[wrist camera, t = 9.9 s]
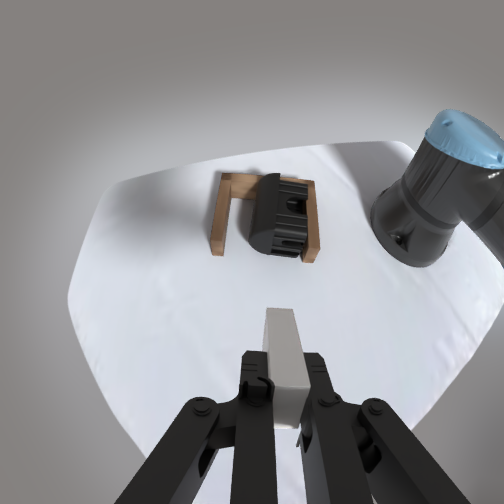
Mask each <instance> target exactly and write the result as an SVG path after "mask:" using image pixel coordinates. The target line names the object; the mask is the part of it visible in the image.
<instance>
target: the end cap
mask: <svg viewBox="0 0 504 504" xmlns="http://www.w3.org/2000/svg"><path fill="white" fill-rule="evenodd" d="M303 200H308V184H304V183H298V182H291V181H284V180H280V173H271V174H268V175H265V176H264V177H262V178H261V179H260V180H259V182H258V184H257V190H256V196H255V203H254V209H253V215H252V222H251V228H250V234H249V243H250V245H251V247H252V248H254V249H255V250H256V251H258V252H260V253H263V254H267V255H276V256H283V257H291V258H297V257H298V255H299V253H301V251H302V248H303V245H301V242H303V243H305V240H306V238H307V233H308V215H302V203H303Z"/></svg>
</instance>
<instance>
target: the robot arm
mask: <svg viewBox="0 0 504 504" xmlns="http://www.w3.org/2000/svg"><path fill="white" fill-rule="evenodd" d="M461 221H464V223H465V224H467V225H468V227H469V228H470V229H471V230H472V231H473V232H474V233H475V234H476V235H477V236H478V237H479V238H480V240H481V241H482V242H483V243H484V244H485V245H486V246H487V247H488V249H489V250H490V251H491V252H492V253H493V255H494V256H495V257H496V258H497V259H498V261H499V262H500V263H501V265H502V267H503V268H504V141H503V140H502V139H501V138H500V136H499V135H498V134H497V133H496V132H495V131H493V129H491V128H490V127H489V126H487V125H486V124H485V123H483V122H481V121H480V120H478V119H477V118H475V117H473V116H471V115H469V114H466V113H464V112H461V111H458V110H453V109H446V110H443V111H441V112H440V113H438V114H437V116H436V117H435V119H434V121H433V123H432V124H431V126H430V128H428V129H427V130H426V132H425V137H424V139H423V141H422V143H421V145H420V147H419V149H418V150H417V152H416V154H415V156H414V157H413V159H412V161H411V163H410V164H409V166H408V168H407V169H406V171H405V173H404V175H403V176H402V178H401V179H399V180H398V181H397V182H395V183H394V184H393V185H392V186H391V187H390V188H387V189H386V190H384V191H383V192H382V193H381V194H380V195H379V196H378V198H377V200H376V201H375V203H374V205H373V207H372V210H371V223H372V227H373V230H374V232H375V234H376V236H377V238H378V240H379V241H380V243H381V244H382V246H383V247H384V248H385V249H386V250H387V251H388V252H389V253H390V254H391V255H392V256H393V257H394V258H396V259H397V260H399V261H400V262H402V263H404V264H406V265H409V266H413V267H427V266H429V265H431V264H433V263H434V262H435V261H436V260H438V259H439V258H440V257H441V256H442V254H443V253H444V251H445V249H446V247H447V244H448V241H449V239H450V237H451V235H452V233H453V231H454V229H455V227H456V226H457V225H458V224H459V223H460V222H461ZM262 351H263V352H262ZM262 351H246V352H245V353H244V355H243V356H242V363H241V375H240V384H239V393H238V395H237V396H236V398H234V399H233V400H231V401H229V402H225V403H218V404H217V403H216V402H215V401H214V400H212V399H210V398H207V397H195V398H193V399H190V400H189V401H188V402H187V403H185V405H184V406H183V408H182V409H181V411H180V412H179V414H178V415H177V417H176V418H175V419H174V421H173V422H172V424H171V425H170V427H169V428H168V430H167V431H166V432H165V434H164V435H163V437H162V438H161V440H160V441H159V442H158V444H157V445H156V447H155V448H154V450H153V451H152V452H151V454H150V455H149V457H148V458H147V459H146V461H145V462H144V464H143V465H142V466H141V468H140V469H139V470H138V472H137V473H136V475H135V476H134V477H133V479H132V480H131V482H130V483H129V484H128V486H127V487H126V488H125V490H124V491H123V492H122V494H121V495H120V496H119V498H118V499H117V500H116V502H115V503H114V504H192V502H193V500H194V498H195V496H196V494H197V493H198V491H199V489H200V487H201V485H202V483H203V481H204V479H205V477H206V475H207V473H208V471H209V469H210V467H211V465H212V463H213V461H214V459H215V457H216V455H217V453H218V450H219V449H221V448H227V447H233V446H234V459H233V471H232V484H231V496H230V504H278V497H277V475H276V454H275V435H274V428H279V429H295V428H298V427H299V424H300V423H301V432H300V435H299V438H298V441H297V444H296V447H299V444H300V447H301V455H302V464H303V472H304V481H305V489H306V498H307V504H374V503H373V499H372V495H373V497H374V499H375V500H376V502H377V504H471V503H470V502H469V501H468V500H467V499H466V497H465V496H464V495H463V494H462V492H461V491H460V490H459V489H458V488H457V486H456V485H455V484H454V483H453V482H452V480H451V479H450V478H449V477H448V476H447V474H446V473H445V472H444V471H443V469H442V468H441V467H440V466H439V464H438V463H437V462H436V461H435V460H434V458H433V457H432V456H431V455H430V454H429V452H428V451H427V450H426V449H425V448H424V446H423V445H422V444H421V443H420V441H419V440H418V439H417V438H416V437H415V435H414V434H413V433H412V432H411V431H410V429H409V428H408V427H407V426H406V425H405V423H404V422H403V421H402V420H401V419H400V417H399V416H398V415H397V414H396V413H395V412H394V410H393V409H392V408H391V407H390V406H389V404H388V403H386V402H385V401H384V400H381V399H378V398H370V399H367V400H365V401H364V402H363V403H362V405H357V404H351V403H347V402H344V401H343V400H342V398H341V396H340V395H338V394H337V393H335V392H334V390H333V387H332V383H331V380H330V377H329V374H328V371H327V368H326V365H325V362H324V359H323V358H322V357H321V356H320V355H319V354H318V353H303V350H302V346H301V342H300V338H299V334H298V329H297V325H296V321H295V317H294V313H293V309H282V308H267V310H266V319H265V328H264V337H263V345H262ZM371 494H372V495H371Z"/></svg>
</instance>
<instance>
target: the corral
mask: <svg viewBox="0 0 504 504" xmlns="http://www.w3.org/2000/svg"><path fill="white" fill-rule="evenodd" d="M262 177H264V176H261V175H248V174H233V173H222V177H221V182H220V187H219V192H218V198H217V203H216V209H215V214H214V220H213V226H212V232H211V238H210V243H211V249H212V255H214V256H223V255H224V247H225V240H226V232H227V225H228V218H229V211H230V204H231V198H241V199H254V200H255V196H256V190H257V184H258V182H259V180H260V179H261V178H262ZM280 180H284V181H291V182H298V183H304V184H308V200H303V203H302V215H308V233H307V238H306V240H305V243H303V242H302V245H303V248H302V258H303V262H305V263H313V262H314V260H315V258H316V256H317V254H318V252H319V250H320V239H319V226H318V214H317V203H316V193H315V184H314V181H311V180H303V179H294V178H284V177H280Z"/></svg>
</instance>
